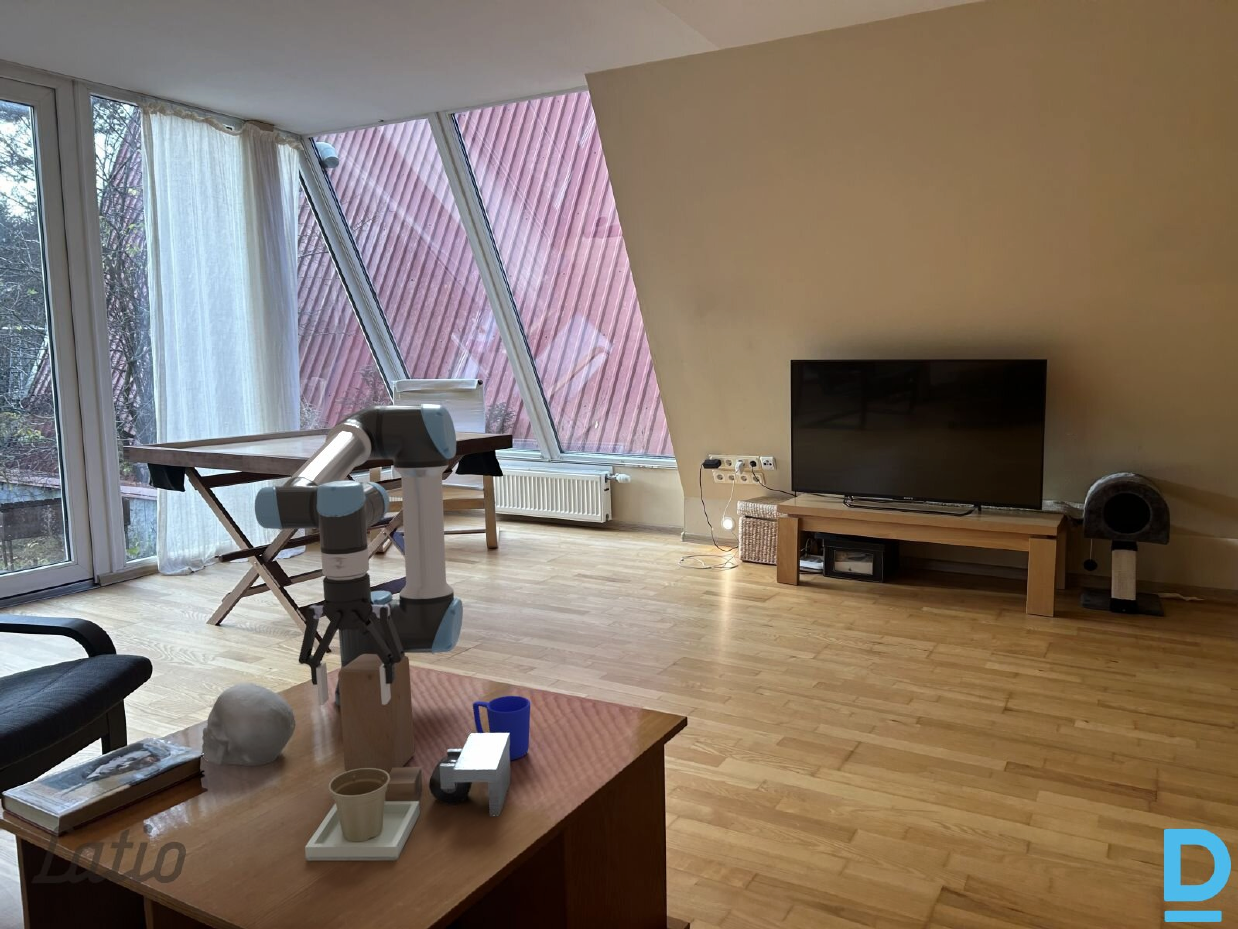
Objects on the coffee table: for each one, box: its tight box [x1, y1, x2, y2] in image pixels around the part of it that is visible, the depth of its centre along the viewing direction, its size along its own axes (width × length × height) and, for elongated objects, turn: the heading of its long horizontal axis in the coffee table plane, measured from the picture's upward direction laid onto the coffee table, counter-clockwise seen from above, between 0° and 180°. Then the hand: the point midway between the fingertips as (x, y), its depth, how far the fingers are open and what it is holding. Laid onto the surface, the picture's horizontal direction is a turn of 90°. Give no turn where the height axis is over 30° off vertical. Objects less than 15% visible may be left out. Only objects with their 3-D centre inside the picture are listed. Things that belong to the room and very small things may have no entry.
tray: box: [304, 800, 421, 862], centre depth 149 cm, size 14×14×2 cm
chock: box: [385, 766, 424, 801], centre depth 160 cm, size 6×5×4 cm
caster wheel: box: [428, 732, 512, 817], centre depth 159 cm, size 14×12×9 cm
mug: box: [472, 695, 531, 761], centre depth 177 cm, size 8×12×10 cm
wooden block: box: [337, 654, 415, 774], centre depth 172 cm, size 10×10×20 cm
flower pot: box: [328, 768, 390, 841], centre depth 148 cm, size 9×9×9 cm
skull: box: [201, 682, 296, 767], centre depth 178 cm, size 13×18×15 cm
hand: (355, 701), depth 159 cm, fingers open, 10 cm apart
